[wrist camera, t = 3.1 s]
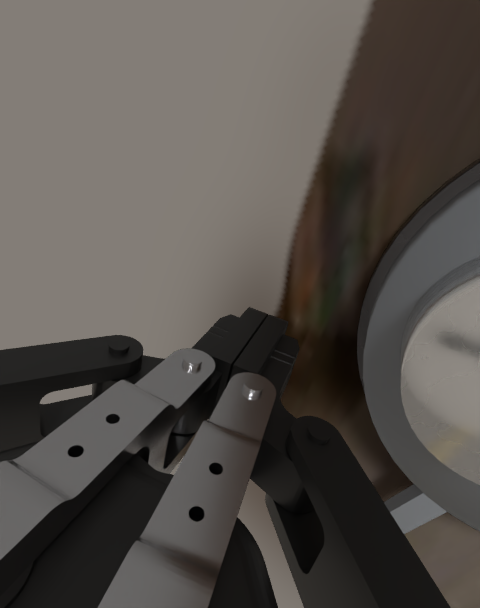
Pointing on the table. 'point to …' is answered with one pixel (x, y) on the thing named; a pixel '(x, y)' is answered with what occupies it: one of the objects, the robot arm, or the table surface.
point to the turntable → (387, 363)
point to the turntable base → (401, 239)
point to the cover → (446, 370)
